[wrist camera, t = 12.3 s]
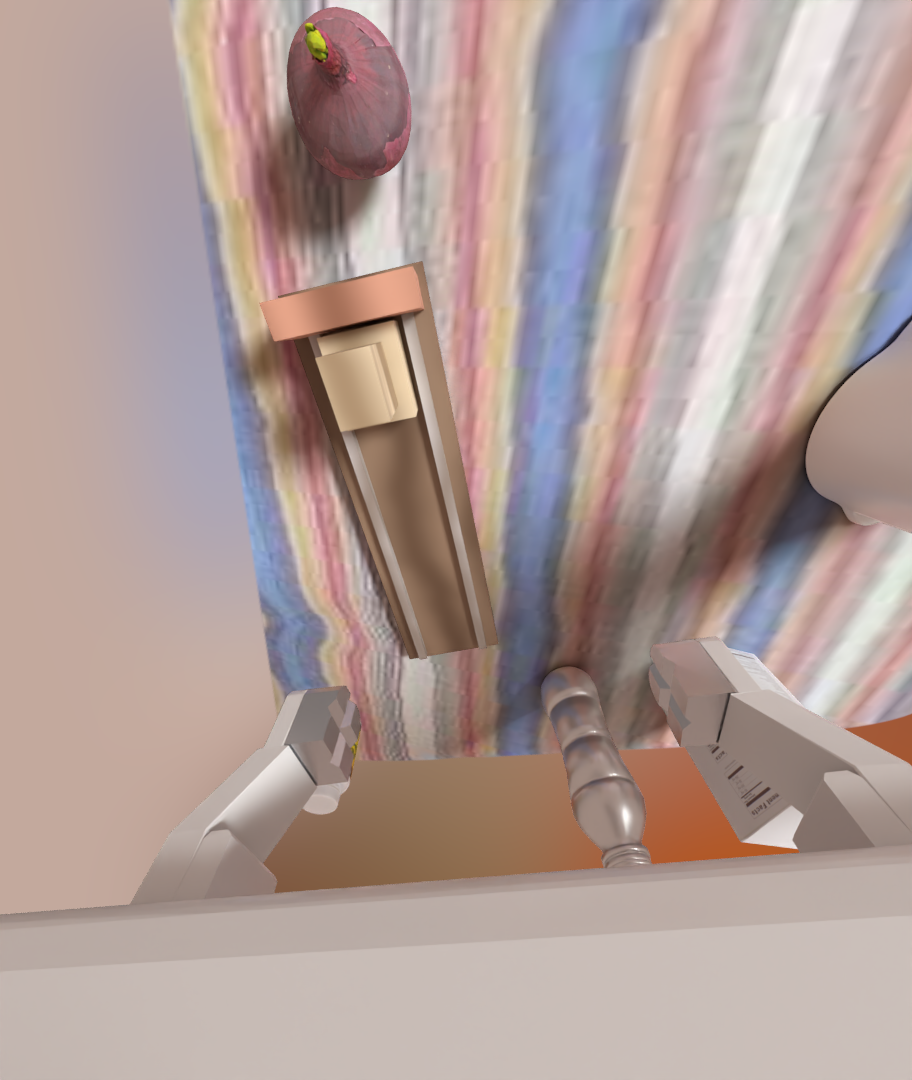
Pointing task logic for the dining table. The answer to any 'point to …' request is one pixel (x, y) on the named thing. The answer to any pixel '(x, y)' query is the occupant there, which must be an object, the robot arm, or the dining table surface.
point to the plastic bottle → (595, 769)
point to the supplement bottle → (329, 793)
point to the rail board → (402, 462)
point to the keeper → (367, 376)
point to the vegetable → (348, 94)
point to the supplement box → (748, 780)
